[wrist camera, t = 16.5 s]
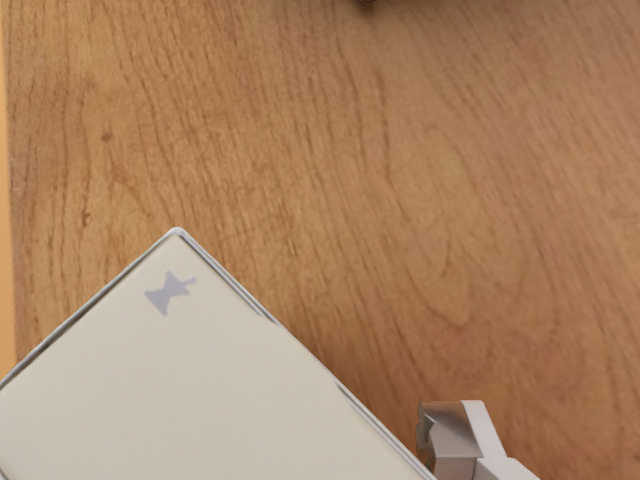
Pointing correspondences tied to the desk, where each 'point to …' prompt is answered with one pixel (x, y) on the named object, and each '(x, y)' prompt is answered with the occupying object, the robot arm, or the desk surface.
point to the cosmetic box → (185, 389)
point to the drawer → (364, 2)
